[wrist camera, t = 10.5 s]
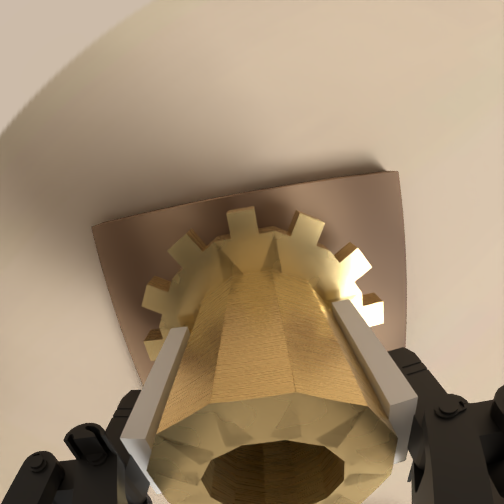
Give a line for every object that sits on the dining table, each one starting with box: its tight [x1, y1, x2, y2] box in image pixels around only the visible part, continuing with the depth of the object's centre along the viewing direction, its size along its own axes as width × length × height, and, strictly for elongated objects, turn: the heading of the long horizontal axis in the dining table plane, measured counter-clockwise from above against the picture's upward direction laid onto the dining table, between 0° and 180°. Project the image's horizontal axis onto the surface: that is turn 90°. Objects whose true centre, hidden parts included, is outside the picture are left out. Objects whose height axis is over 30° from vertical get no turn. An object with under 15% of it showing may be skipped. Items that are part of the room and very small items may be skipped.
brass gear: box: [142, 206, 398, 504], centre depth 11 cm, size 11×11×9 cm
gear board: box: [92, 171, 407, 386], centre depth 15 cm, size 16×24×8 cm, turn 10°
